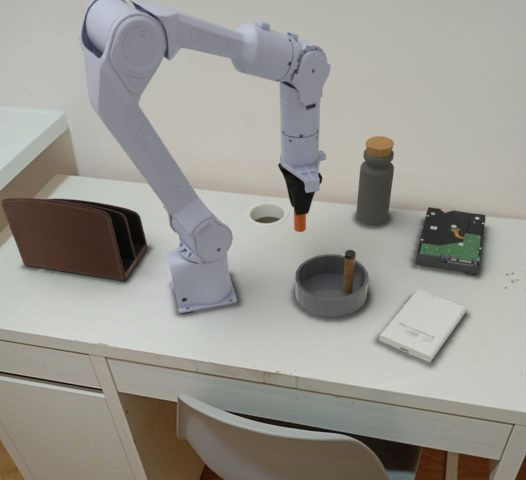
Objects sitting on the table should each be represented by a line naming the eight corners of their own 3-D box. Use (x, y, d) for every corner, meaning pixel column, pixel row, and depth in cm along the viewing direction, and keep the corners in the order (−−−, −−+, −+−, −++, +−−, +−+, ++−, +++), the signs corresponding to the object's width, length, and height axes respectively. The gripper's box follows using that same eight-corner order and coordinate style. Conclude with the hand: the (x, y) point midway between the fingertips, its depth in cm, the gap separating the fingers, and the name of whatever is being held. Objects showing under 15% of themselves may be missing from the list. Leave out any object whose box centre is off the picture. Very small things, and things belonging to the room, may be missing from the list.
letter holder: (125, 282, 98) (105, 210, 88) (23, 266, 103) (-7, 196, 92) (148, 248, 105) (133, 177, 95) (52, 234, 109) (27, 165, 99)
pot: (306, 325, 89) (306, 305, 86) (287, 280, 97) (287, 260, 94) (376, 311, 90) (379, 292, 87) (352, 268, 98) (354, 249, 95)
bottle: (386, 228, 106) (396, 151, 95) (354, 226, 107) (361, 149, 96) (388, 210, 110) (398, 135, 99) (357, 208, 111) (363, 133, 100)
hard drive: (464, 315, 89) (429, 364, 82) (415, 296, 92) (378, 341, 86) (466, 307, 88) (431, 356, 81) (417, 288, 91) (379, 333, 85)
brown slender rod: (344, 294, 93) (346, 256, 88) (340, 288, 94) (343, 250, 89) (353, 292, 93) (357, 255, 88) (350, 286, 94) (353, 248, 89)
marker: (295, 233, 96) (295, 187, 90) (292, 226, 98) (291, 181, 92) (307, 231, 97) (308, 185, 91) (304, 224, 98) (304, 179, 92)
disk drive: (424, 219, 107) (414, 266, 98) (426, 206, 105) (416, 253, 96) (482, 227, 105) (478, 276, 95) (486, 213, 103) (482, 262, 93)
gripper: (341, 147, 80) (336, 229, 90) (312, 105, 90) (311, 183, 100) (292, 154, 79) (293, 237, 89) (268, 111, 89) (271, 189, 99)
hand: (299, 209), depth 95 cm, fingers closed on marker, 2 cm apart
